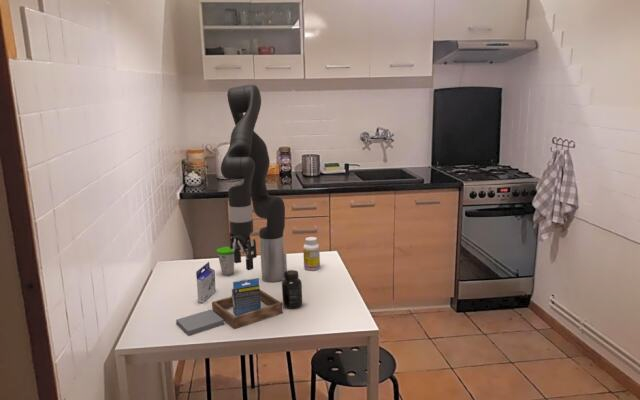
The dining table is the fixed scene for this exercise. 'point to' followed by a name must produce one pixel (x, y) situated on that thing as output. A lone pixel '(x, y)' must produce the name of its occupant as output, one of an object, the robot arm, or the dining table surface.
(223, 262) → the cup
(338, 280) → the dining table surface
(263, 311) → the bin
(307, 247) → the supplement bottle
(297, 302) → the supplement bottle
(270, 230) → the robot arm
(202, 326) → the grey rectangular slab
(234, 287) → the blue product box
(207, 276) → the ink box
